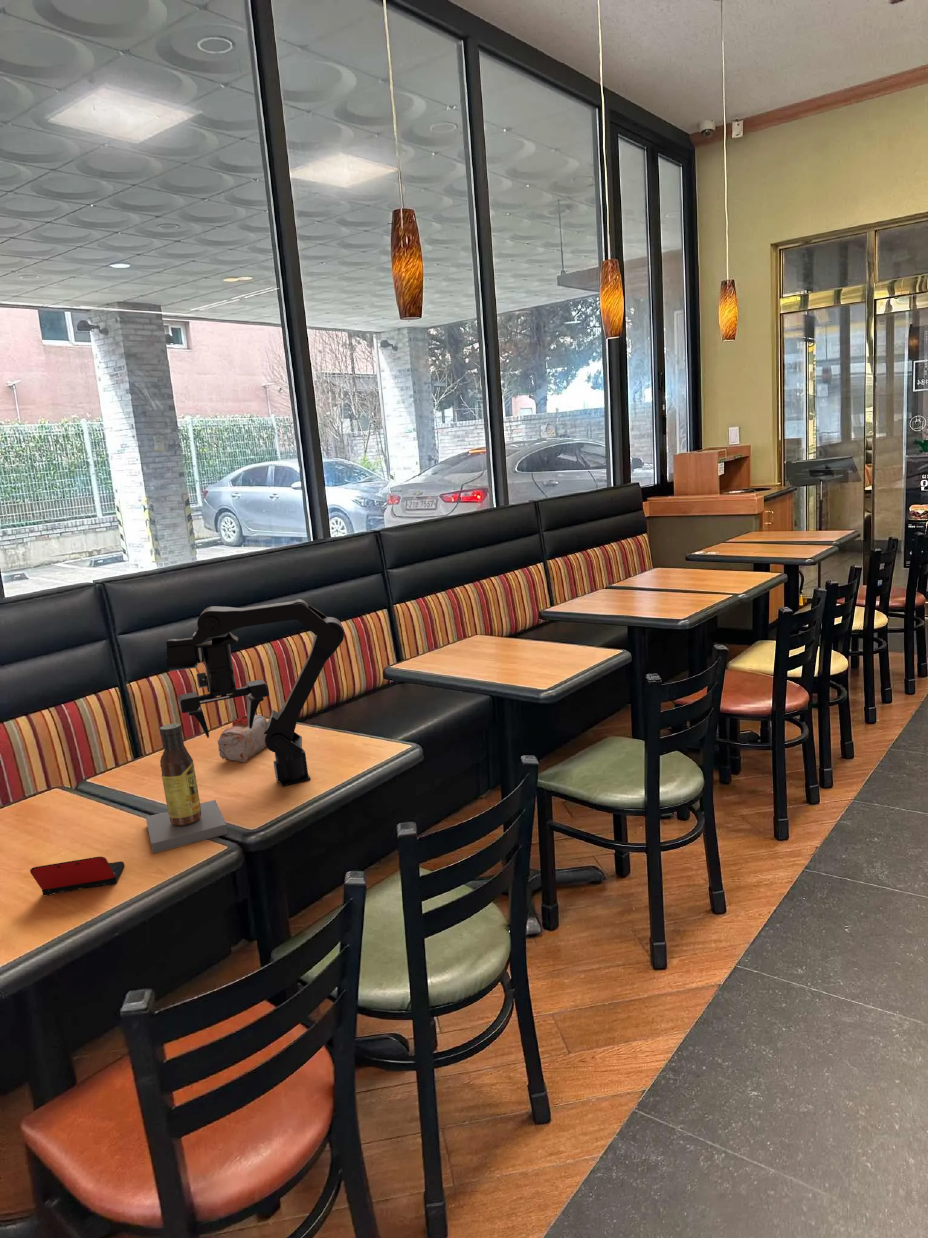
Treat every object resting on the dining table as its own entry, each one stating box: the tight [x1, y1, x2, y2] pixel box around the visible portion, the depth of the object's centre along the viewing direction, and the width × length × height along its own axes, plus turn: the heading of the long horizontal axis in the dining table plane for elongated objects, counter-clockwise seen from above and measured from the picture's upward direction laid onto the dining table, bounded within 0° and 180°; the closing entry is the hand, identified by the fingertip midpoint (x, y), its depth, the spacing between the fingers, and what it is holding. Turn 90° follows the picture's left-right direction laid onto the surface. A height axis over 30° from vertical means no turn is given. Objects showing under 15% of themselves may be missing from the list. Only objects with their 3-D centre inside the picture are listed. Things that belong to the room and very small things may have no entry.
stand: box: [145, 799, 229, 854], centre depth 167 cm, size 14×14×2 cm
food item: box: [217, 714, 268, 764], centre depth 207 cm, size 14×8×10 cm, turn 165°
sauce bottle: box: [159, 722, 201, 826], centre depth 165 cm, size 6×6×20 cm
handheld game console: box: [29, 856, 125, 896], centre depth 148 cm, size 12×11×7 cm
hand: (229, 732), depth 184 cm, fingers open, 9 cm apart
